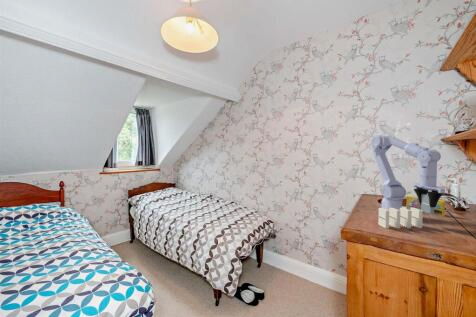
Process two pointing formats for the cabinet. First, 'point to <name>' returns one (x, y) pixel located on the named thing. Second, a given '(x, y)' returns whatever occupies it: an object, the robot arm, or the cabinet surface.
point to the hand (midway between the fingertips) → (427, 205)
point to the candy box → (414, 203)
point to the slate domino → (426, 204)
